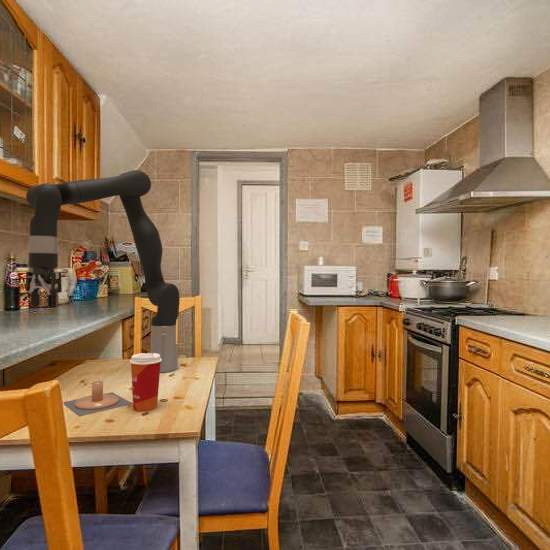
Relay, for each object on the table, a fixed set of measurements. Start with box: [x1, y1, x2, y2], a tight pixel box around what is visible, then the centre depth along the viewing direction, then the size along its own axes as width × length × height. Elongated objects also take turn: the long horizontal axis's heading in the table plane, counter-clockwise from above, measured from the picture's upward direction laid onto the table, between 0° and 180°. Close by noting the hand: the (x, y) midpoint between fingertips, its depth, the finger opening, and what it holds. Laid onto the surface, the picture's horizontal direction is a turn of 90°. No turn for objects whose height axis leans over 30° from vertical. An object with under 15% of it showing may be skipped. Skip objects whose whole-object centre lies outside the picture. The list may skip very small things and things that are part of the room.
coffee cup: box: [129, 352, 162, 413], centre depth 105 cm, size 8×8×15 cm
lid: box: [75, 380, 119, 410], centre depth 108 cm, size 11×11×6 cm
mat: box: [63, 391, 133, 417], centre depth 108 cm, size 14×14×1 cm
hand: (43, 306), depth 116 cm, fingers open, 8 cm apart
